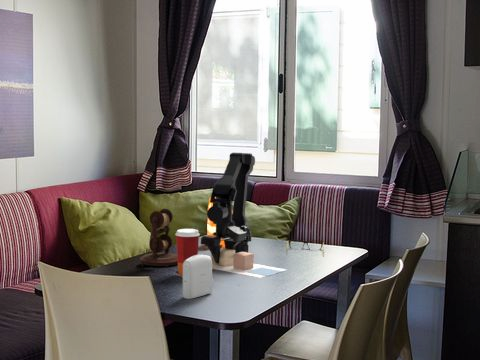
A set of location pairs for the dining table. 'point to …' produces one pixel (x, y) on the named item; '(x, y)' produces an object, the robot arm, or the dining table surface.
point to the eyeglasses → (307, 244)
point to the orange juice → (212, 226)
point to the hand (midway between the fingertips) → (223, 261)
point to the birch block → (224, 257)
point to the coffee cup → (186, 246)
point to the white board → (251, 270)
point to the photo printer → (197, 276)
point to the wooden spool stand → (160, 241)
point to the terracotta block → (243, 260)
